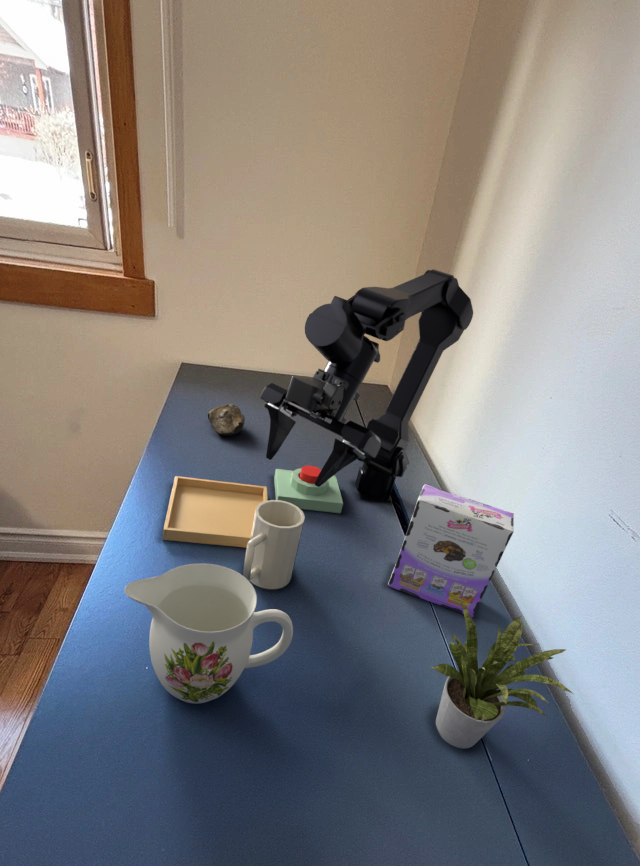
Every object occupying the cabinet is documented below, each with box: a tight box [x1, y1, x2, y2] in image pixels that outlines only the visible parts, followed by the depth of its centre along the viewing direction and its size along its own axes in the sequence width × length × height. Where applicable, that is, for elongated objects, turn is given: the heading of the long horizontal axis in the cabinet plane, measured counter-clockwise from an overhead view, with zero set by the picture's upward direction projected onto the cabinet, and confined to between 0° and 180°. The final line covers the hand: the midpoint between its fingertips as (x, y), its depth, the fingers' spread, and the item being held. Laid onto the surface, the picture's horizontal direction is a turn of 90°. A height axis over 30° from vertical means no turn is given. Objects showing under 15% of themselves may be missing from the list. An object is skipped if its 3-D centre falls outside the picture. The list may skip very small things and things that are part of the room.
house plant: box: [430, 601, 574, 749], centre depth 58 cm, size 14×14×16 cm
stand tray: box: [162, 475, 269, 549], centre depth 90 cm, size 16×16×2 cm
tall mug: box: [241, 499, 306, 590], centre depth 76 cm, size 10×7×11 cm
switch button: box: [300, 465, 322, 484], centre depth 99 cm, size 4×4×2 cm
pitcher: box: [124, 562, 294, 704], centre depth 59 cm, size 11×18×14 cm, turn 101°
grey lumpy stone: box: [207, 403, 246, 436], centre depth 116 cm, size 8×7×10 cm
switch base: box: [273, 467, 344, 514], centre depth 100 cm, size 12×10×4 cm
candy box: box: [387, 483, 515, 618], centre depth 80 cm, size 14×6×16 cm, turn 71°
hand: (291, 472), depth 78 cm, fingers open, 9 cm apart
